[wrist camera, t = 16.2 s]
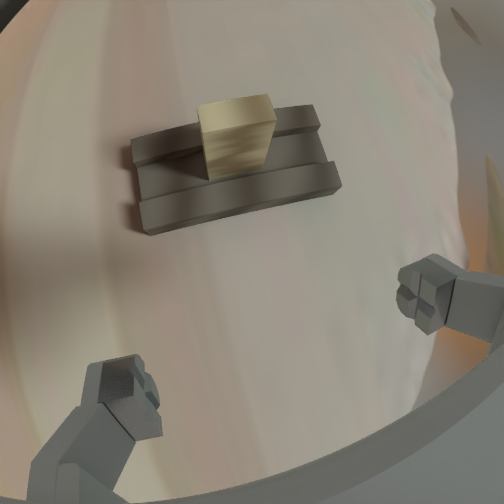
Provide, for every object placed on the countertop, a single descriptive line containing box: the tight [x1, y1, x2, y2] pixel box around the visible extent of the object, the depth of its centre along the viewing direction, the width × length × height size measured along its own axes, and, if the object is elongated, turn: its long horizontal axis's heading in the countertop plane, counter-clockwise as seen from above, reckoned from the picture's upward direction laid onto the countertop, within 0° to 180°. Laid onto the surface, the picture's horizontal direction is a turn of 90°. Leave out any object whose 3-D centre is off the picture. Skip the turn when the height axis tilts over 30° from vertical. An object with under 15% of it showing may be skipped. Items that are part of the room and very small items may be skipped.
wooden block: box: [197, 94, 277, 181], centre depth 26 cm, size 6×2×10 cm, turn 104°
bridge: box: [131, 105, 342, 236], centre depth 31 cm, size 20×10×3 cm, turn 104°
